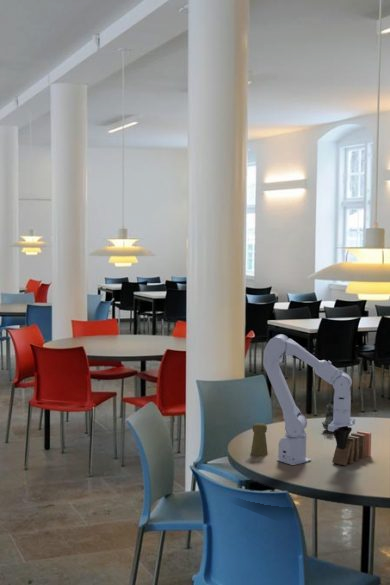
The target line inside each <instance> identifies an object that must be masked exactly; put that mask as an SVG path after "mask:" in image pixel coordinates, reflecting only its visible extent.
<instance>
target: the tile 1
mask: <svg viewBox="0 0 390 585" xmlns="http://www.w3.org/2000/svg"><path fill="white" fill-rule="evenodd" d="M352 443H353V442H351V441H348V440H347V442H346V446H345V449H339V448H338V447H337V444H336V446H335V450H334V453H333V458H332V460H331V462H332V463H333V464H335V465H341V466H344V467H347V465H348V463H347V462H348V458H349V454H350V450H351V447H352Z"/></svg>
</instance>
